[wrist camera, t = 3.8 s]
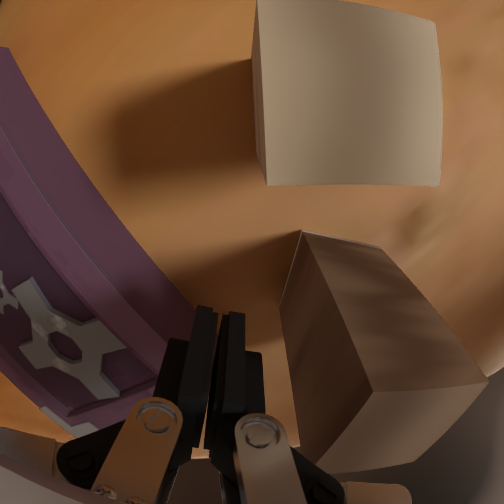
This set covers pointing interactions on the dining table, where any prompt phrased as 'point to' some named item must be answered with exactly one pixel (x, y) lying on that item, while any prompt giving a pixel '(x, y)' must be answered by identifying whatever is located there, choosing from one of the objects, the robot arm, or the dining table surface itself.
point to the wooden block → (368, 358)
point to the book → (73, 280)
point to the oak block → (345, 94)
